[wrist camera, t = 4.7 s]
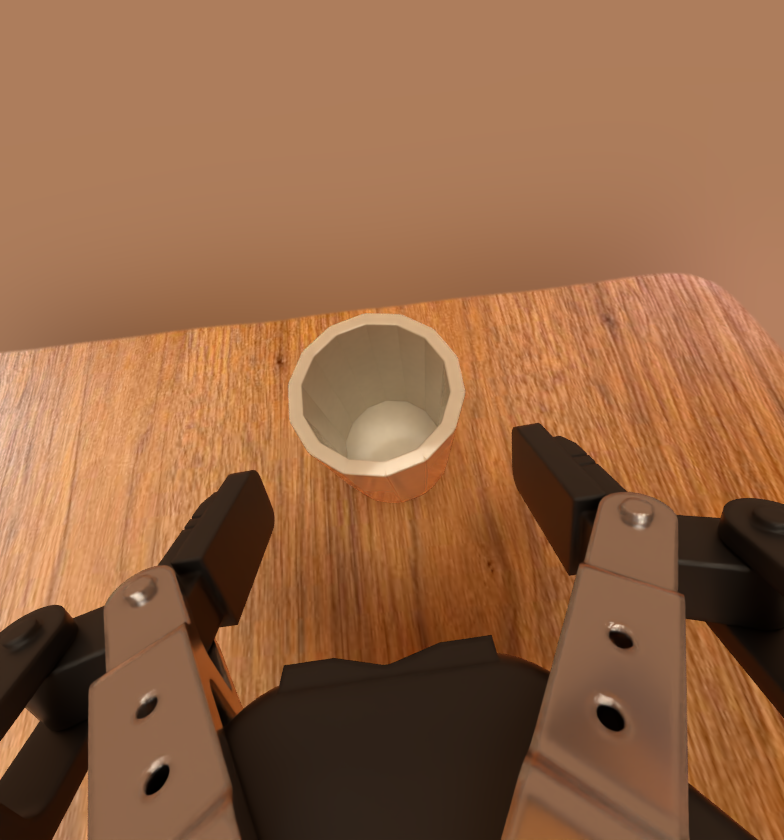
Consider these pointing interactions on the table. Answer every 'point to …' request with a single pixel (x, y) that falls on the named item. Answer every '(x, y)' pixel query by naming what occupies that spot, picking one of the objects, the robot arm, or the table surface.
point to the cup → (378, 404)
